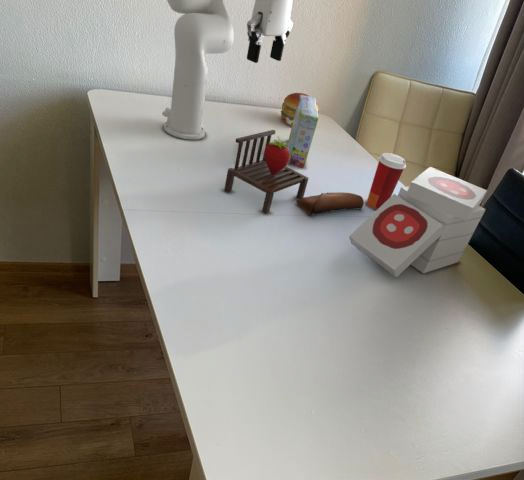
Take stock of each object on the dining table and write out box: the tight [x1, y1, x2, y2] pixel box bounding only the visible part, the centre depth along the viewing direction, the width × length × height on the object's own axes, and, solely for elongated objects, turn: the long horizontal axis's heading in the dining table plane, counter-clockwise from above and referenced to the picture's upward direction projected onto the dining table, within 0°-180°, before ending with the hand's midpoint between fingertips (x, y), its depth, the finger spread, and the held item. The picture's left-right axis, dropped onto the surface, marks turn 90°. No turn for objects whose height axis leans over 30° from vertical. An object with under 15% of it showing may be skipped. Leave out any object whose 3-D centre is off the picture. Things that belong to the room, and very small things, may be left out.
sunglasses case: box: [295, 192, 365, 216], centre depth 143 cm, size 18×7×7 cm
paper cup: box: [366, 152, 407, 211], centre depth 148 cm, size 8×8×14 cm
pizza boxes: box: [348, 166, 488, 278], centre depth 127 cm, size 19×30×18 cm, turn 128°
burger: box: [280, 92, 319, 126], centre depth 190 cm, size 14×14×10 cm
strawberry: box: [263, 135, 290, 175], centre depth 134 cm, size 6×8×10 cm
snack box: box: [287, 95, 319, 168], centre depth 165 cm, size 21×6×15 cm, turn 179°
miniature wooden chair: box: [223, 129, 310, 215], centre depth 137 cm, size 14×17×14 cm
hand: (263, 60), depth 134 cm, fingers open, 9 cm apart
